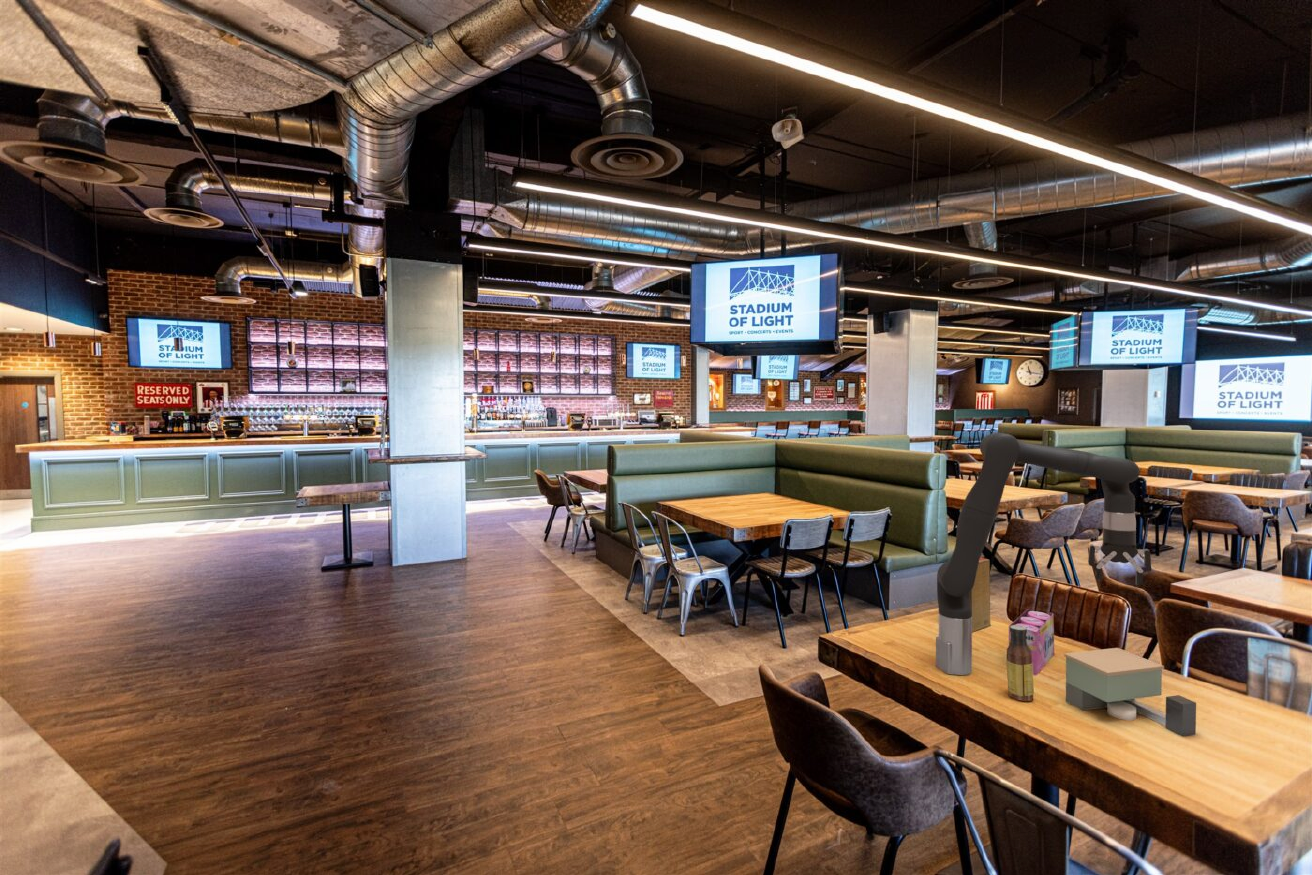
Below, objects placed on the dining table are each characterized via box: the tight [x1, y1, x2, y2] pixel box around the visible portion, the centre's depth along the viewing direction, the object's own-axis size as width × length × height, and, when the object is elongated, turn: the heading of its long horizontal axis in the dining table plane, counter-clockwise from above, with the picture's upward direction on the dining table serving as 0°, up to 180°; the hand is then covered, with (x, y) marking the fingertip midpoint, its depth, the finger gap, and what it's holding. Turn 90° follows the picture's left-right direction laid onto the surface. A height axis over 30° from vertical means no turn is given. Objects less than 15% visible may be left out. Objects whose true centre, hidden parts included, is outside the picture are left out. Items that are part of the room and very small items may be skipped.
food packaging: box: [947, 557, 991, 633], centre depth 222 cm, size 13×9×25 cm
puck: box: [1106, 701, 1137, 721], centre depth 156 cm, size 6×6×2 cm
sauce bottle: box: [1006, 625, 1035, 702], centre depth 166 cm, size 7×6×20 cm
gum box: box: [1008, 608, 1055, 676], centre depth 190 cm, size 24×8×14 cm, turn 135°
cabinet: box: [1063, 647, 1165, 711], centre depth 159 cm, size 18×13×13 cm
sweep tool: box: [1126, 694, 1197, 738], centre depth 152 cm, size 4×15×8 cm, turn 11°
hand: (1118, 583), depth 171 cm, fingers open, 8 cm apart
